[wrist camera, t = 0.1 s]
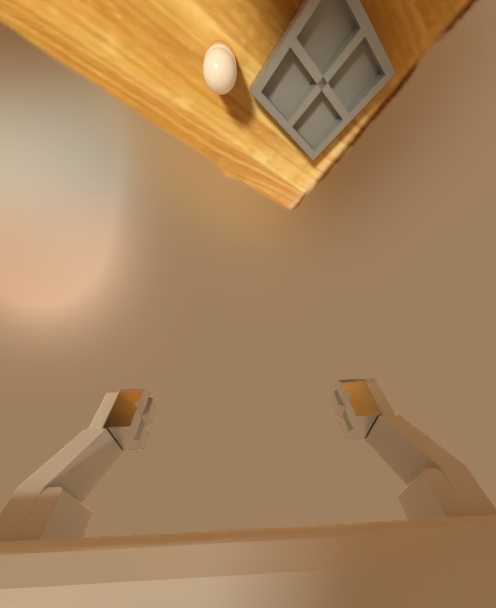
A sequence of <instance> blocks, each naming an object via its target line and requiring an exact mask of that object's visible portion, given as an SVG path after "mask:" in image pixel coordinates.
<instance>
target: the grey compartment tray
mask: <svg viewBox="0 0 496 608" xmlns="http://www.w3.org/2000/svg"><path fill="white" fill-rule="evenodd" d="M395 74H396V72H395V70H394V68H393V66H392V64H391V62H390V60H389V58H388V56H387V54H386V52H385V50H384V48H383V46H382V44H381V41H380V39H379V37H378V35H377V33H376V31H375V29H374V27H373V25H372V23H371V21H370V19H369V17H368V15H367V13H366V11H365V9H364V7H363V5H362V3H361V1H360V0H303V2H302V4H301V5H300V7H299V8H298V10H297V12H296V13H295V15H294V16H293V18H292V20H291V21H290V23H289V25H288V26H287V28H286V29H285V31H284V33H283V34H282V36H281V37H280V39H279V41H278V42H277V44H276V46H275V47H274V49H273V50H272V52H271V54H270V55H269V57H268V58H267V60H266V62H265V63H264V65H263V67H262V68H261V70H260V71H259V73H258V75H257V76H256V78H255V80H254V81H253V83H252V84H251V86H250V91H251V94H252V95H253V96H254V97H255V98H256V99H257V100H258V102H259V103H260V104H261V105H262V106H263V107H264V108H265V109H266V110H267V111H268V112H269V113H270V115H271V116H272V117H273V118H274V119H275V120H276V121H277V122H278V123H279V124H280V125H281V126H282V128H283V129H284V130H285V131H286V132H287V133H288V134H289V135H290V136H291V137H292V138H293V139H294V141H295V142H296V143H297V144H298V145H299V146H300V147H301V148H302V149H303V150H304V151H305V152H306V154H307V155H308V156H309V157H310V158H311V159H312V160H314V159H315V158H316V157H317V156H318V155H319V154H320V153H321V152H322V151H323V150H324V149H325V148H326V147H327V145H328V144H329V143H330V142H331V141H332V140H333V139H334V138H335V137H336V136H337V135H338V134H339V133H340V132H341V131H342V130H343V129H344V128H345V127H346V126H347V124H348V123H349V122H350V121H351V120H352V119H353V118H354V117H355V116H356V115H357V114H358V113H359V112H360V111H361V110H362V109H363V108H364V107H365V106H366V105H367V103H368V102H369V101H370V100H371V99H372V98H373V97H374V96H375V95H376V94H377V93H378V92H379V91H380V90H381V89H382V88H383V87H384V86H385V85H386V84H387V82H388V81H389V80H390V79H391V78H392V77H393V76H394V75H395Z"/></svg>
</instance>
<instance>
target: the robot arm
mask: <svg viewBox="0 0 496 608" xmlns="http://www.w3.org/2000/svg"><path fill="white" fill-rule="evenodd" d="M336 387H337V389H336V390H335V391H334V392H333V395H332V402H333V407H334V410H335V413H336V414H337V415H338V416H339V417H340V418H341V420H340V423H339V424H340V427H341V429H342V432H343V435H344V438H345V439H366V441H367V443H368V444H369V445H370V446H371V447H372V448H373V449H374V450H375V451H376V452H377V453H378V454H379V455H380V456H381V457H382V459H383V460H384V461H385V462H386V463H387V464H388V465H389V466H390V467H391V468H392V469H393V470H394V472H395V473H396V474H397V475H398V476H399V477H400V478H401V479H402V480H403V481H404V482H405V483H406V484H407V486H406V487H405V488H404V489H403V490H402V491H401V492H400V493H399V495H398V499H399V501H400V503H401V506H402V508H403V510H404V512H405V515H406V517H407V519H405V520H389V521H388V520H387V521H370V522H369V521H368V522H351V523H333V524H314V525H297V526H277V527H259V528H241V529H223V530H205V531H188V532H187V531H186V532H170V533H169V532H168V533H150V534H133V535H132V534H131V535H113V536H95V537H83V536H84V534H85V531H86V528H87V525H88V523H89V520H90V517H91V514H92V512H91V509H90V508H88V507H87V506H86V505H84V504H83V503H82V501H83V500H84V498H85V497H86V496H87V495H88V494H89V492H90V491H91V490H92V489H93V488H94V486H95V485H96V484H97V483H98V481H99V480H100V479H101V478H102V477H103V476H104V474H105V473H106V472H107V471H108V469H109V468H110V467H111V466H112V465H113V463H114V462H115V461H116V460H117V459H118V457H119V456H120V455H121V454H122V452H123V451H124V450H137V449H144V447H145V444H146V440H147V437H148V434H149V431H148V429H147V426H148V425H149V424H150V423H151V422H152V420H153V416H154V410H155V405H154V401H153V399H152V398H150V397H149V395H150V392H149V390H148V389H147V388H146V389H114V390H109V391H108V393H106V395H105V397H104V399H103V401H102V403H101V405H100V407H99V409H98V411H97V413H96V415H95V417H94V419H93V421H92V422H91V425H90V426H89V428H88V429H84V430H83V431H82V432H81V433H80V434H79V435H77V436H76V437H75V438H74V439H73V440H71V441H70V442H69V443H68V444H67V445H66V446H64V447H63V448H62V449H61V450H60V451H59V452H58V453H56V454H55V455H54V456H53V457H52V458H51V459H49V460H48V461H47V462H46V463H45V464H44V465H43V466H41V467H40V468H39V469H38V470H37V471H36V472H34V473H33V474H32V475H31V476H30V477H29V478H27V479H26V480H25V481H24V482H23V483H22V484H21V485H20V486H18V487H17V488H16V490H15V492H14V493H13V495H12V496H11V498H10V499H9V501H8V503H7V504H6V506H5V507H4V509H3V511H2V512H1V514H0V608H496V509H495V507H494V506H493V504H492V503H491V501H490V500H489V498H488V497H487V496H486V494H485V493H484V492H483V490H482V488H481V487H480V485H479V484H478V483H477V481H476V480H475V478H474V477H473V475H472V474H471V473H470V471H469V470H468V468H467V467H466V465H464V464H463V463H462V462H460V461H459V460H458V459H456V458H455V457H454V456H453V455H451V454H450V453H449V452H447V451H446V450H445V449H443V448H442V447H441V446H439V445H438V444H437V443H436V442H434V441H433V440H432V439H430V438H429V437H428V436H426V435H425V434H424V433H423V432H421V431H420V430H419V429H417V428H416V427H415V426H413V425H412V424H411V423H410V422H408V421H407V420H406V419H404V418H403V417H402V416H401V415H396V414H395V412H394V410H393V409H392V407H391V405H390V404H389V402H388V400H387V398H386V397H385V395H384V393H383V391H382V390H381V388H380V386H379V385H378V383H377V381H376V380H375V379H372V378H370V379H347V380H338V381H337V383H336Z"/></svg>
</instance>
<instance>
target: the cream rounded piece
mask: <svg viewBox="0 0 496 608" xmlns="http://www.w3.org/2000/svg"><path fill="white" fill-rule="evenodd" d="M203 75H204V79H205V82H206V84H207V86H208V87H209V88H210V89H211V90H212V91H213V92H214V93H216V94H220V95H223V94H226V93H228V92H229V91H231V89H232V88H233V87H234V85H235V82H236V78H237V66H236V57H235V53H234V51H233V49H232V47H231V46H230V45H229V44H228V43H227V42H225V41H223V40H216V41H214V42H213V43H212V44H211V45H210V46H209V48H208V50H207V52H206V56H205V59H204V62H203Z"/></svg>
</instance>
